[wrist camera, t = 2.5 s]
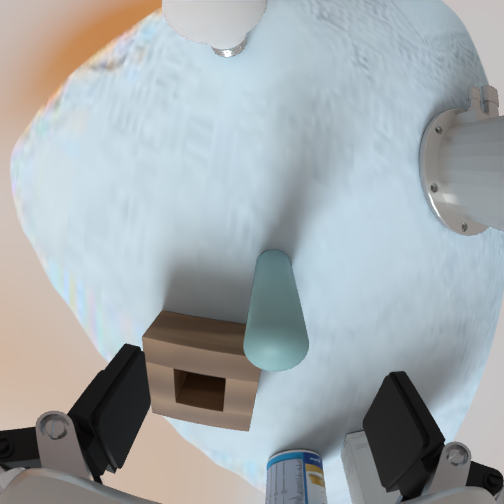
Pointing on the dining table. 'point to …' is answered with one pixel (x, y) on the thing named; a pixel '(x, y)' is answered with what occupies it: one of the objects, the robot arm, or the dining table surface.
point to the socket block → (200, 371)
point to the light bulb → (214, 22)
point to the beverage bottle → (295, 478)
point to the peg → (275, 316)
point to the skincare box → (363, 472)
